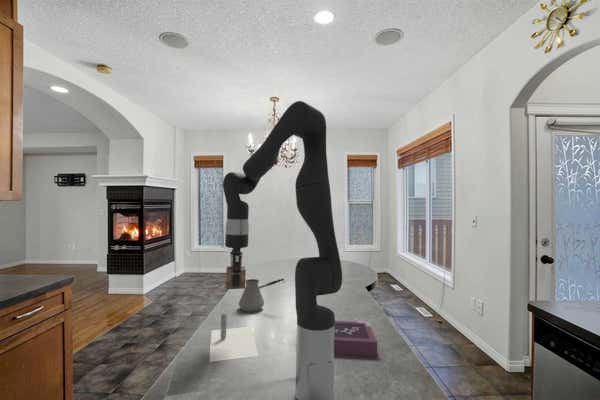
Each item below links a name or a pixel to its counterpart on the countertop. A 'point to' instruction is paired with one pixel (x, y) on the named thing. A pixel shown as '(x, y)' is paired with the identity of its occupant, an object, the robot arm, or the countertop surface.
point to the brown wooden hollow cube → (241, 278)
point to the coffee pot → (253, 296)
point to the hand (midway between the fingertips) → (235, 282)
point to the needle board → (232, 342)
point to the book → (354, 339)
